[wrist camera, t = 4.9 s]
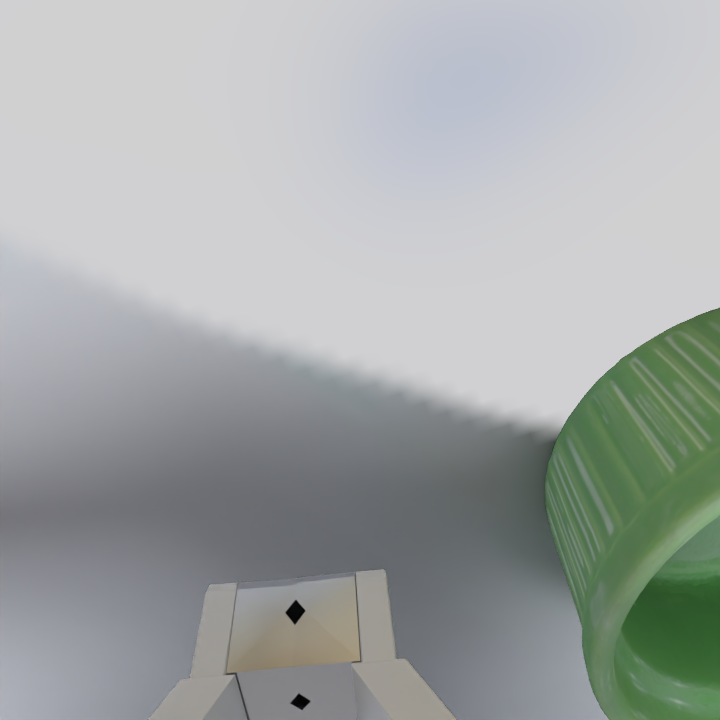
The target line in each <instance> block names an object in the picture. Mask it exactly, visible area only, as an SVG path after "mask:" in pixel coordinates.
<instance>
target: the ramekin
mask: <svg viewBox="0 0 720 720" xmlns="http://www.w3.org/2000/svg"><path fill="white" fill-rule="evenodd" d="M545 493H546V494H545V503H546V510H547V515H548V521H549V525H550V529H551V532H552V535H553V539H554V542H555V545H556V548H557V551H558V555H559V558H560V561H561V564H562V567H563V570H564V573H565V576H566V579H567V582H568V585H569V587H570V590H571V593H572V596H573V599H574V602H575V606H576V609H577V612H578V615H579V618H580V622H581V625H582V647H583V653H584V659H585V664H586V668H587V672H588V676H589V680H590V684H591V687H592V690H593V693H594V695H595V697H596V699H597V701H598V703H599V705H600V707H601V709H602V710H603V712H604V713H605V715H606V716H607V717H608V719H609V720H720V308H718V309H715V310H712V311H709V312H706V313H703V314H701V315H698V316H696V317H694V318H692V319H689V320H687V321H685V322H683V323H680V324H678V325H676V326H674V327H672V328H670V329H668V330H666V331H664V332H663V333H661V334H659V335H658V336H656V337H654V338H653V339H651V340H649V341H648V342H646V343H644V344H643V345H641V346H640V347H638V348H637V349H635V350H634V351H633V352H631V353H630V354H628V355H627V356H625V357H623V358H622V359H621V360H620V361H619V362H618V363H617V364H616V365H615V366H614V367H612V368H611V369H610V370H609V371H607V373H605V374H604V376H602V377H601V378H600V379H599V380H598V381H597V382H596V383H595V384H594V385H593V387H592V388H591V389H590V390H589V391H588V392H587V394H586V395H585V396H584V397H583V398H582V400H581V401H580V403H579V404H578V405H577V407H576V408H575V409H574V411H573V412H572V413H571V415H570V416H569V417H568V419H567V421H566V423H565V424H564V426H563V428H562V430H561V432H560V434H559V436H558V438H557V440H556V443H555V445H554V448H553V451H552V455H551V457H550V459H549V462H548V468H547V474H546V481H545Z"/></svg>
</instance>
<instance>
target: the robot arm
mask: <svg viewBox="0 0 720 720" xmlns="http://www.w3.org/2000/svg"><path fill="white" fill-rule="evenodd" d="M356 587H357V588H356ZM148 720H457V719H456V718H455V716H454V715H453V714H452V713H451V712H450V710H449V709H448V708H447V707H446V706H445V705H444V703H443V702H442V701H441V700H440V699H439V697H438V696H437V695H436V694H435V693H434V691H433V690H432V689H431V688H430V687H429V685H428V684H427V683H426V682H425V681H424V679H423V678H422V677H421V676H420V675H419V673H418V672H417V671H416V670H415V669H414V667H413V666H412V665H411V664H410V663H409V661H408V660H407V659H406V658H402V659H397V655H396V647H395V639H394V631H393V623H392V615H391V607H390V598H389V590H388V582H387V574H386V572H385V569H380V570H369V571H359V572H356V578H355V571H352V572H342V573H332V574H323V575H313V576H304V577H298V578H295V579H280V580H264V581H248V582H234V583H222V584H210V585H209V587H208V589H207V591H206V593H205V597H204V603H203V608H202V613H201V619H200V624H199V630H198V635H197V640H196V646H195V651H194V657H193V662H192V667H191V673H190V678H187V679H180V680H179V682H178V683H177V684H176V685H175V687H174V688H173V689H172V690H171V691H170V693H169V694H168V695H167V696H166V698H165V699H164V700H163V701H162V703H161V704H160V705H159V706H158V708H157V709H156V710H155V711H154V712H153V714H152V715H151V716H150V717H149V719H148Z"/></svg>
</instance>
